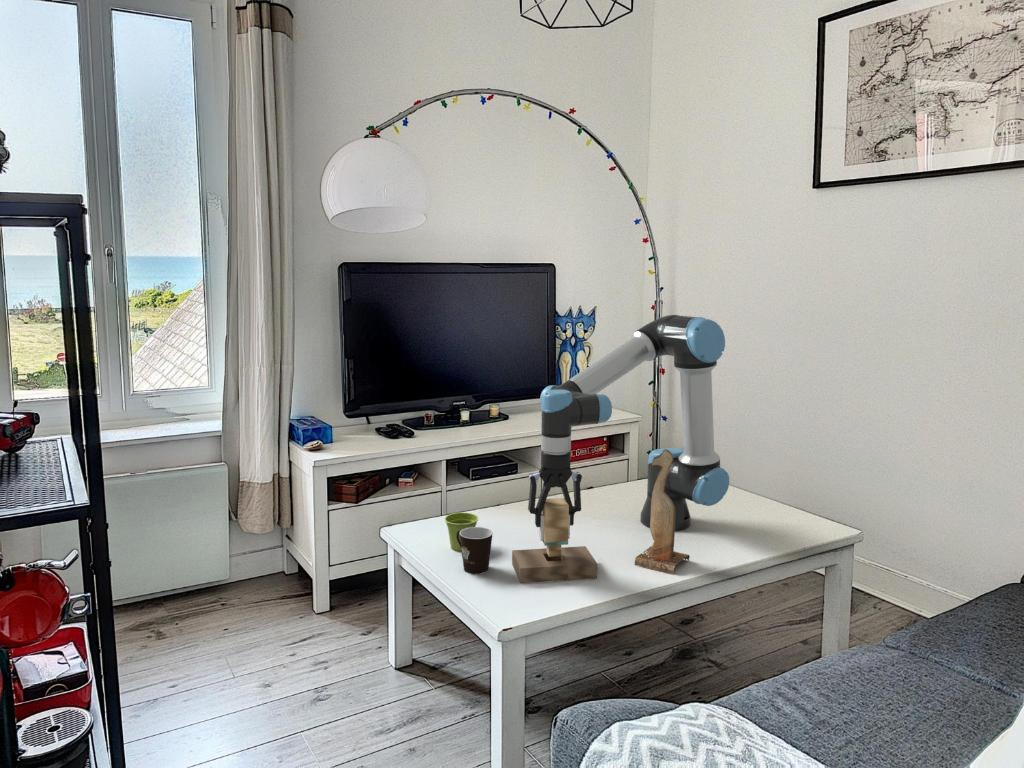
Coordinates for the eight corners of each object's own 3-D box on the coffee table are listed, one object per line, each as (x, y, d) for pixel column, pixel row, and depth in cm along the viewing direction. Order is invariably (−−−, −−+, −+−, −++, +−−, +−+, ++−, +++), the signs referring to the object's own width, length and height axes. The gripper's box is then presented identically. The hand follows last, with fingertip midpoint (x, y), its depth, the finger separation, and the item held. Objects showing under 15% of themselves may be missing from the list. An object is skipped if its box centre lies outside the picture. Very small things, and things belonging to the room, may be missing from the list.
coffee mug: (496, 573, 203) (496, 537, 201) (463, 577, 200) (463, 540, 199) (484, 556, 214) (485, 521, 212) (453, 560, 211) (453, 524, 210)
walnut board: (585, 560, 212) (585, 546, 211) (597, 578, 200) (597, 563, 200) (512, 564, 209) (512, 550, 208) (520, 583, 197) (520, 568, 196)
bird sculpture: (649, 553, 218) (649, 441, 213) (690, 560, 212) (691, 445, 207) (634, 567, 209) (634, 450, 203) (676, 575, 203) (677, 455, 197)
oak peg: (562, 548, 207) (563, 497, 205) (567, 557, 201) (569, 505, 199) (539, 550, 206) (540, 498, 204) (544, 559, 200) (545, 506, 198)
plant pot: (474, 555, 215) (474, 524, 213) (440, 552, 217) (440, 522, 215) (481, 542, 224) (481, 513, 222) (449, 540, 226) (449, 511, 224)
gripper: (588, 446, 204) (586, 530, 208) (516, 448, 201) (515, 534, 205) (596, 453, 197) (593, 541, 201) (521, 456, 194) (520, 545, 198)
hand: (554, 537), depth 203 cm, fingers closed on oak peg, 6 cm apart
